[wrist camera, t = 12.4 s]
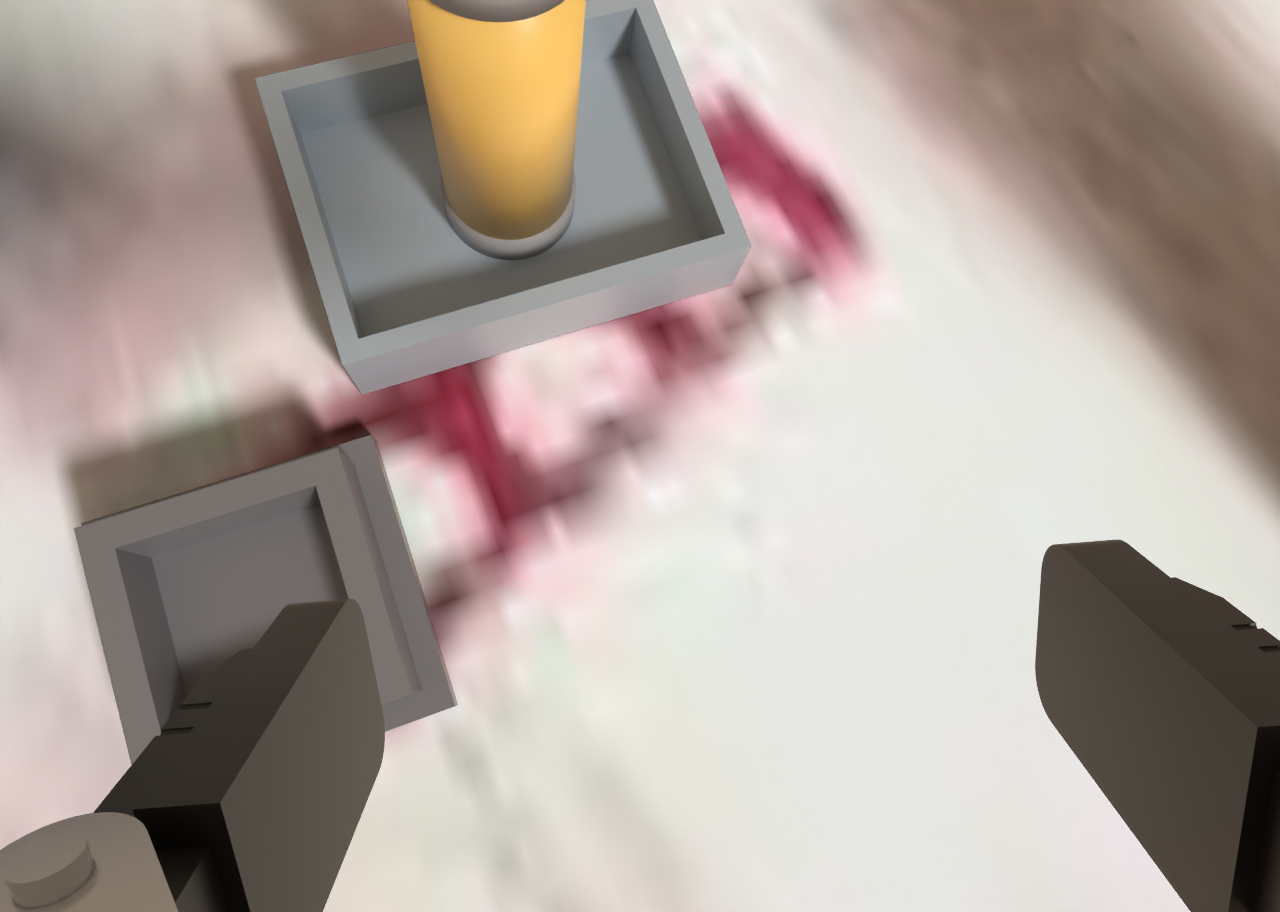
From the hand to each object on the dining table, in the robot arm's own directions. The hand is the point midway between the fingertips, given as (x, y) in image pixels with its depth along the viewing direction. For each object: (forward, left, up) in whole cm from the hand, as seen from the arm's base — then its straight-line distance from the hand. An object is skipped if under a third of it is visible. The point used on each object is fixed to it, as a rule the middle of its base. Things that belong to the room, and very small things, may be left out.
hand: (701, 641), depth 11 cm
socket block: (+8, -4, -16) cm, 19 cm away
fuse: (-2, -14, -15) cm, 21 cm away
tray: (-2, -14, -16) cm, 21 cm away
